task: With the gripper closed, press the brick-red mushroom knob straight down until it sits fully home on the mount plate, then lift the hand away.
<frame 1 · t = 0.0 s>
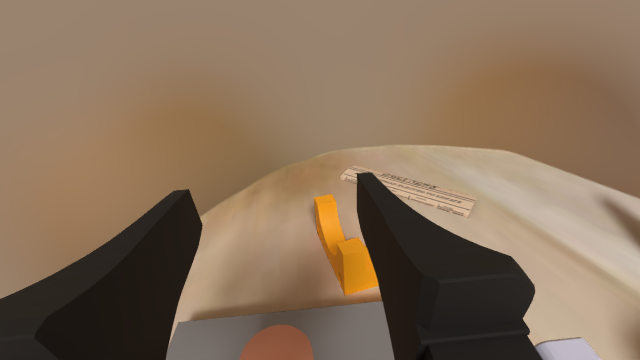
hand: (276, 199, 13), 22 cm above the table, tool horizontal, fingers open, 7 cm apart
pipe clamp: (344, 258, 40), on the table
newspaper: (404, 191, 55), on the table
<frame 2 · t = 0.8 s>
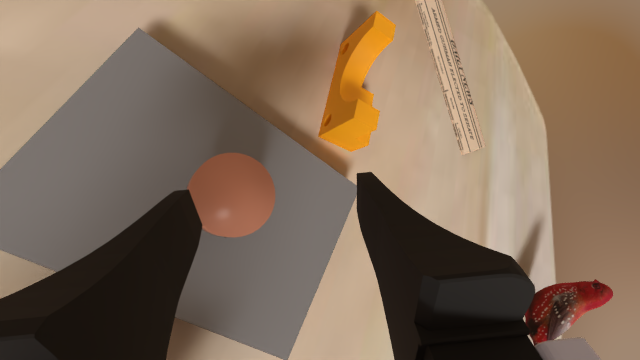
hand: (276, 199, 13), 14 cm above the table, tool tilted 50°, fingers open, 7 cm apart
pipe clamp: (343, 98, 34), on the table
knob: (226, 197, 20), point 6 cm above the table, slide at 0.0 cm
newspaper: (447, 77, 46), on the table
decorative bird figurine: (510, 309, 44), on the table
mount plate: (208, 204, 25), on the table
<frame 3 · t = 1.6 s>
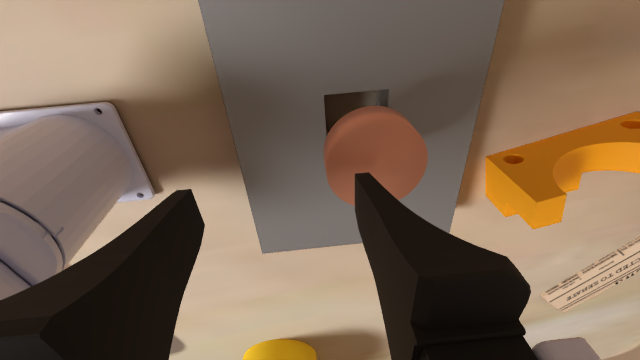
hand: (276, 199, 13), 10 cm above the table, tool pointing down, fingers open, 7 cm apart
pipe clamp: (552, 154, 26), on the table
knob: (367, 146, 17), point 6 cm above the table, slide at 0.0 cm
yellow toilet paper roll: (280, 357, 41), on the table
mount plate: (349, 106, 22), on the table
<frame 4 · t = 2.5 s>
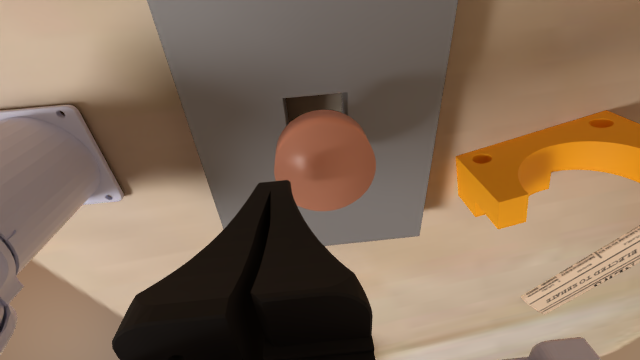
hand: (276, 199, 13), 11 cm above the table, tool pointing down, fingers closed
pipe clamp: (524, 153, 26), on the table
knob: (321, 149, 17), point 6 cm above the table, slide at 0.0 cm
newspaper: (620, 246, 35), on the table
mount plate: (314, 109, 22), on the table
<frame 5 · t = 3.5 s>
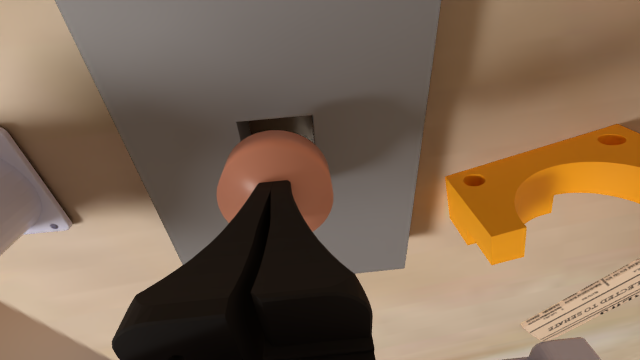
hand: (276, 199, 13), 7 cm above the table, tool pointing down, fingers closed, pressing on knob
pipe clamp: (523, 172, 23), on the table
knob: (278, 172, 15), point 5 cm above the table, slide at 1.2 cm, touching gripper
newspaper: (629, 271, 32), on the table
mount plate: (281, 129, 19), on the table
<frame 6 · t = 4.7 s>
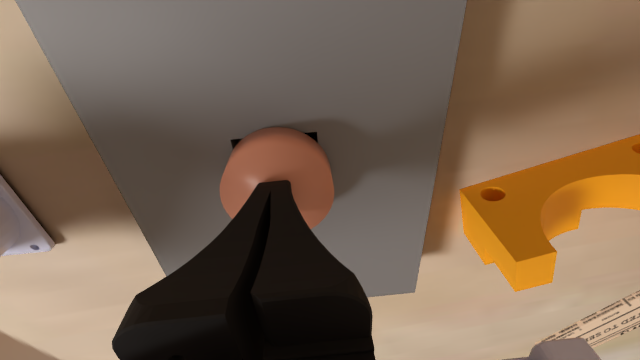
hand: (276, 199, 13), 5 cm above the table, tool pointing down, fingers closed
pipe clamp: (545, 183, 21), on the table
knob: (280, 168, 15), point 3 cm above the table, slide at 3.6 cm
mount plate: (282, 144, 17), on the table
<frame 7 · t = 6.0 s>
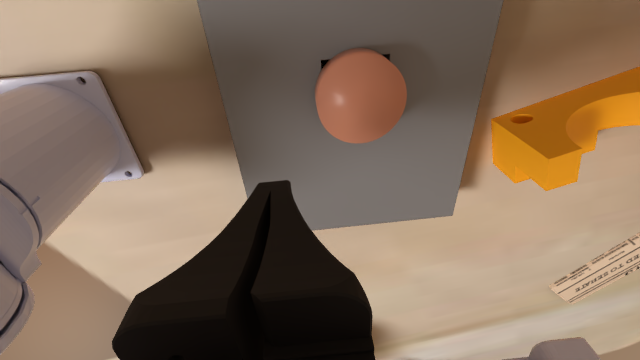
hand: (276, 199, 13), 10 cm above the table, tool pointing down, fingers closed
pipe clamp: (565, 114, 24), on the table
knob: (354, 90, 18), point 3 cm above the table, slide at 3.6 cm
mount plate: (347, 78, 21), on the table
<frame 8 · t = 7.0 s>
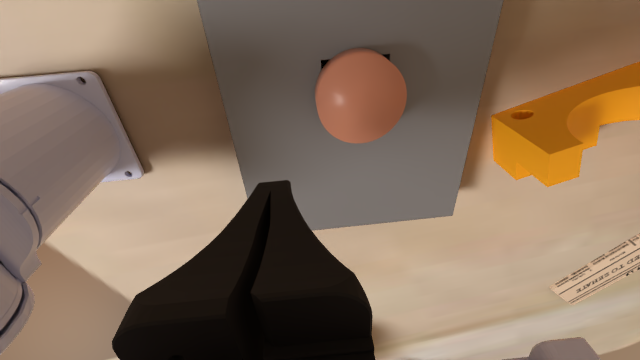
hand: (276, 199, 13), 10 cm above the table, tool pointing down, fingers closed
pipe clamp: (566, 110, 24), on the table
knob: (354, 90, 18), point 3 cm above the table, slide at 3.6 cm
mount plate: (347, 78, 21), on the table
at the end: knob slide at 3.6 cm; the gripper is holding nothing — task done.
